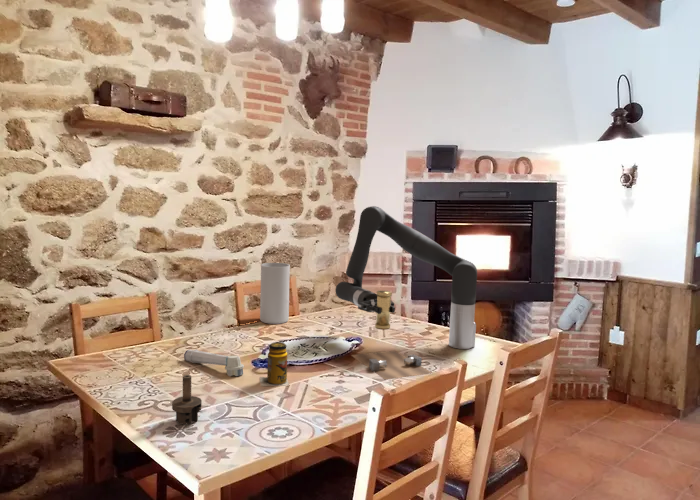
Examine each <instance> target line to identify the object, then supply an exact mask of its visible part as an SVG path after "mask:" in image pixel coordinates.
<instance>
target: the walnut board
mask: <svg viewBox="0 0 700 500" xmlns="http://www.w3.org/2000/svg"><path fill="white" fill-rule="evenodd" d="M350 356H351V357H352V358H354V359H355V360H357V361H358V363H359V362H360V363H361V365H364V366H365V367H366V368H367V369H369V370H371V369H370V368H369V359H377V360H378V361H385V360H386V362H387V367H386V368H379V371H373V373H375V374H377V375H378V376H379V377H380V378H382V379H383V380H391V379H398V378H399V379H400V378H407V377H414V376H422V375H430V374H431V373H432V374H433V372H431V371H430V370H429V369H427V368H424V366H422V365H421V366H417V367H416V366H413V365H411V364H410V365H405V364H404V359H405V358H407V357H406V356H404V354H401V353H400V352H398V351H396V350H387V351H378V352H377V351H376V352H368V353H357V354H350Z"/></svg>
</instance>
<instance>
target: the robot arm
mask: <svg viewBox="0 0 700 500" xmlns="http://www.w3.org/2000/svg"><path fill="white" fill-rule="evenodd" d="M377 232H379V233H381V234H383V235H385V236H387V237H389V238H390V239H391V240H392V241H393V242H395V243H396V245H397V246H399V247H400V248H401V249H403V250H404V251H405V252H407V253H408V254H409V255H411V256H412V257H414V258H416V259H418V260H420V261H422V262H424V263H427V264H430V265H432V266H435V267H438V268H440V269H441V270H443V271H445V272H446V273H448V274H449V275H450V276H452V278H451V293H450V294H451V296H450V297H451V300H450V315H449V316H450V318H449V335H448V346H449V347H451V348H454V349H460V350H468V349H472V348H474V347H476V345H475V344H476V334H477V333H476V331H477V323H476V322H475V314H476V313H475V312H476V300H477V283H478V269H477V267H476V265H475V264H474V263H473V262H471V261H468V260H467V259H465V258H463V257H460V256H458V255H456V254H454V253H452V252H451V251H449V250H448V249H446V248H444V247H443V246H441V245H440V244H439V243H437V242H436V241H434V240H433V239H431V238H430V237H429V236H427V235H425V234H423V233H421V232H420V231H418V230H416V229H415V228H412V227H410V226H408V225H407V224H404V223H402V222H401V221H398V220H397V219H395V218H394V217H392V216H391V215H390V214H389V213H387V212H386V211H385V210H383V209H382V208H381V207H379V206H375V205H372V206H368V207H365V208H364V209H363V210H362V212H361V213H360V217H359V224H358V230H357V235H356V238H355V244H354V246H353V249H352V252H351V255H350V258H349V261H348V264H347V268H346V271H345V274H346V276H347V277H348V278H351V279H352V280H353V282H347V281H340V282H338V283H337V284H336V286H335V294H336V296H337V298H339V299H340V300H344V301H345V302H350V303H352V304H353V305H355V306H356V307H357V309H358V310H361V311H364V312H367V313H376V314H377V313H378V314H381V308H380V307H378V306H377V293H375V292H373V291H372V290H369V289H365V288H363V277H364V273H365V271H366V267H367V264H368V261H369V257H370V255H369V254H370V250H371V246H372V242H373V239H374V237H375V235H376V233H377ZM395 312H396V307H395V301H394V302H393V301H392V300H391V304H390V314H394V313H395Z"/></svg>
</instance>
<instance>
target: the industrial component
mask: <svg viewBox="0 0 700 500" xmlns="http://www.w3.org/2000/svg"><path fill="white" fill-rule="evenodd" d="M202 404H203V403H202V399H201V398H200V397H198V396H195V395H194V396H193V395H192V375H190V374H185V375H182V396H180V397H177V398H175V399H173V400H172V402H171V409H172V411H174V412H175V421H176V422H177V423H178V424H179V425H189V424H193V422H195V423H198V421H199V420H198V419H199V417H198V414H199V413H200V412H201V410H202Z"/></svg>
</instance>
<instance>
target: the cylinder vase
mask: <svg viewBox="0 0 700 500" xmlns="http://www.w3.org/2000/svg"><path fill="white" fill-rule="evenodd" d="M290 272H291V265H290V263H284V262H265V263H262V264H261V265H260V293H259V295H260V297H259V298H260V300H259V301H260V302H259V303H260V304H259V306H260V309H259V310H260V311H259V320H260V321H261V322H262V323H265V324H271V325H278V324H279V325H281V324H285V323H287V322H289V319H290V317H289V316H290V315H289V314H290V313H289V312H290V277H291V276H290V275H291V273H290Z"/></svg>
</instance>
